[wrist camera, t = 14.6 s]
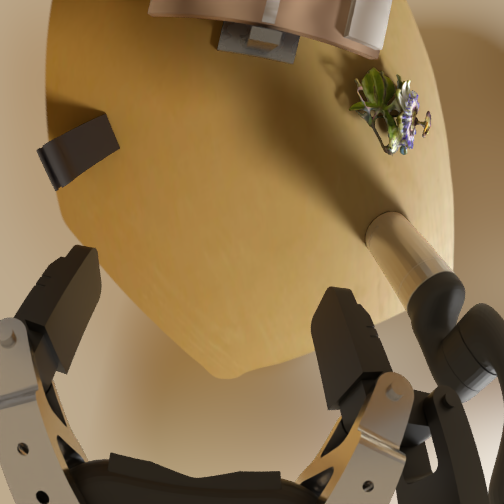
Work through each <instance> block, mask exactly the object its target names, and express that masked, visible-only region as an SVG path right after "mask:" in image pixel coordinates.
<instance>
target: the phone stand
mask: <svg viewBox="0 0 504 504" xmlns="http://www.w3.org/2000/svg"><path fill="white" fill-rule="evenodd" d="M118 149H120V147H119V144H118V142H117V140H116V137H115V135H114V132H113V130H112V128H111V125H110V123H109V120H108V118H107V115H106V114H104V115H102V116H99V117H97V118H95V119H93V120H91V121H89V122H87V123H84V124H82V125H80V126H78V127H76V128H74V129H72V130H71V131H69V132H67V133H65V134H63V135H61V136H59V137H57V138H55V139H53V140H51V141H49V142H48V143H46V144H45V145H43V147H42V148H39V149H38V150H37V153H38V155H39V157H40V160H41V162H42V164H43V166H44V168H45V171H46V173H47V175H48V177H49V179H50V181H51V183H52V185H53V186H54V189H55V191H57V190H59V189H58V188H60V187H61V186H62V188H63V187H64V186H66V185H67V184H69V183H70V182H71V181H73V180H74V179H75V178H76V177H77V176H79V175H80V174H82V173H83V172H84V171H86V170H87V169H89V168H90V167H92V166H93V165H95V164H96V163H98V162H99V161H101V160H102V159H104V158H105V157H107V156H108V155H110V154H112V153H113V152H115V151H116V150H118Z"/></svg>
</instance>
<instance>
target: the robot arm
mask: <svg viewBox="0 0 504 504" xmlns="http://www.w3.org/2000/svg"><path fill="white" fill-rule="evenodd" d="M365 241H366V245H367V248H368V249H369V251H370V252H371V254H372V255H373V257H374V258H375V260H376V262H377V263H378V265H379V266H380V268H381V270H382V271H383V273H384V274H385V276H386V278H387V279H388V281H389V283H390V284H391V286H392V288H393V289H394V291H395V293H396V294H397V296H398V298H399V299H400V301H401V303H402V305H403V306H404V308H405V310H406V312H407V313H408V315H409V317H410V319H411V324H412V329H413V332H414V334H415V336H416V338H417V340H418V342H419V345H420V347H421V349H422V352H423V354H424V356H425V359H426V361H427V364H428V366H429V369H430V371H431V373H432V376H433V378H434V380H435V382H436V383H437V385H438V387H437V388H436V389H435V390H434V391H433V392H431V393H426V392H421V391H417V390H413V388H412V386H411V384H410V382H409V381H408V380H407V379H406V378H405V377H404V376H402V375H400V374H398V373H395V372H393V371H392V369H391V366H390V363H389V361H388V358H387V355H386V353H385V350H384V348H383V346H382V343H381V341H380V338H378V334H377V331H376V329H374V324H373V322H372V319H371V317H370V315H369V314H368V313H367V311H366V310H365V309H364V308H363V307H362V306H361V304H357V302H356V300H355V298H354V295H353V293H352V291H351V290H350V289H346V288H338V287H329V288H327V290H326V292H325V294H324V296H323V298H322V300H321V302H320V304H319V306H318V308H317V310H316V312H315V314H314V316H313V318H312V322H311V334H312V338H313V343H314V347H315V352H316V356H317V360H318V365H319V370H320V374H321V378H322V383H323V388H324V393H325V398H326V402H327V407H328V410H339V409H340V411H341V416H340V417H339V418H338V420H337V421H336V423H335V425H334V427H333V429H332V430H331V432H330V434H329V436H328V437H327V439H326V441H325V443H324V444H323V446H322V448H321V449H320V451H319V452H318V454H317V456H316V457H315V459H314V460H313V461H312V462H311V463H310V465H309V466H307V468H306V469H305V470H304V471H303V472H302V473H301V474H300V476H299V477H298V478H297V480H296V481H295V483H294V482H292V481H288V480H285V479H281V476H280V471H270V472H243V471H242V472H241V471H239V472H234V473H228V474H223V475H216V476H210V477H203V478H193V477H189V476H186V475H183V474H180V473H178V472H175V471H173V470H170V469H168V468H165V467H163V466H160V465H158V464H155V463H153V462H150V461H145V460H140V459H135V458H131V457H126V456H122V455H118V454H115V453H110V458H109V459H102V460H93V461H88V459H87V457H86V455H85V453H84V451H83V449H82V447H81V445H80V443H79V442H78V440H77V439H76V437H75V435H74V434H73V432H72V430H71V427H70V425H69V423H68V420H67V418H66V415H65V412H64V409H63V407H62V404H61V401H60V398H59V396H58V392H57V389H56V386H55V383H54V380H53V377H54V374H55V372H56V371H58V372H61V373H64V374H67V373H68V370H69V367H70V365H71V362H72V360H73V357H74V355H75V352H76V350H77V347H78V345H79V343H80V340H81V338H82V336H83V333H84V331H85V329H86V327H87V324H88V322H89V320H90V318H91V316H92V313H93V311H94V309H95V307H96V305H97V303H98V301H99V298H100V294H101V277H100V269H99V260H98V252H97V250H96V248H92V247H86V246H81V245H75V246H74V247H73V248H72V249H71V250H70V252H69V253H68V255H67V256H66V257H60V258H58V259H57V260H55V261H54V262H53V263H51V264H50V265H49V266H48V268H47V269H46V270H45V272H44V273H43V274H42V277H40V279H39V280H38V281H37V283H36V286H34V287H33V288H32V290H31V291H30V293H29V294H28V296H27V297H26V299H25V300H24V302H23V303H22V305H21V307H20V308H19V310H18V312H17V313H16V315H15V316H14V318H4V319H2V320H0V464H1V467H2V470H3V473H4V476H5V478H6V481H7V484H8V486H9V488H10V491H11V494H12V496H13V499H14V501H15V503H16V504H389V503H390V501H391V498H392V496H393V494H394V491H395V489H396V493H397V500H398V504H504V426H503V432H502V438H501V442H500V446H499V450H498V455H497V458H496V462H495V465H494V469H493V473H492V476H491V481H490V485H489V492H487V487H486V483H485V478H484V474H483V470H482V466H481V462H480V458H479V455H478V451H477V448H476V444H475V441H474V438H473V434H472V431H471V428H470V425H469V422H468V419H467V416H466V413H465V411H464V408H463V405H462V403H464V402H467V401H468V400H470V399H471V398H472V397H474V396H475V395H476V394H478V393H479V392H480V391H481V390H482V389H483V388H485V387H486V386H487V385H488V384H489V383H490V382H491V381H493V380H494V379H495V378H496V377H498V379H499V383H500V386H501V390H502V395H503V400H504V320H503V319H502V318H501V316H500V315H499V314H498V313H497V312H496V311H495V310H494V309H493V308H492V307H490V306H489V305H486V304H483V303H479V304H476V305H475V306H474V307H472V308H471V309H470V310H469V311H468V312H467V313H466V314H465V315H464V317H463V318H462V319H461V320H460V321H459V322H458V323H457V319H458V316H459V313H460V311H461V308H462V306H463V303H464V299H465V288H464V286H463V284H462V282H461V281H460V280H459V278H458V277H457V276H456V275H455V273H454V272H453V271H452V270H451V268H450V267H449V266H448V265H447V263H446V262H445V261H444V260H443V259H442V258H441V257H440V255H439V254H438V253H437V252H436V251H435V249H434V248H433V247H432V246H431V245H430V244H429V243H428V241H427V240H426V239H425V238H424V237H423V236H422V235H421V234H420V233H419V232H418V231H417V229H416V228H415V227H414V226H413V225H412V224H411V223H410V222H409V221H408V220H407V219H406V218H405V217H404V216H403V215H402V214H400V213H397V212H387V213H384V214H382V215H380V216H378V217H377V218H376V219H375V220H374V221H373V222H372V223H371V224H370V226H369V228H368V230H367V232H366V237H365ZM456 323H457V324H456ZM431 436H432V440H433V443H434V447H435V451H436V455H437V459H438V467H437V470H436V471H435V472H434V473H433V472H432V470H431V466H430V461H429V457H428V453H427V449H426V445H425V440H427V439H428V438H430V437H431Z"/></svg>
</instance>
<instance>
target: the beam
mask: <svg viewBox="0 0 504 504" xmlns="http://www.w3.org/2000/svg"><path fill="white" fill-rule="evenodd" d="M391 4H392V0H151V1H150V5H149V9H148V14H149V15H151V16H152V17H187V18H202V19H213V20H222V21H230V22H237V23H243V24H249V25H255V26H260V27H265V28H270V29H275V30H279V31H284V32H288V33H292V34H296V35H300V36H303V37H307V38H310V39H314V40H317V41H321V42H324V43H327V44H330V45H333V46H336V47H339V48H342V49H345V50H347V51H350V52H353V53H355V54H358V55H361V56H363V57H366V58H368V59H378V56H379V52H380V50H382V47H383V43H384V38H385V33H386V29H387V24H388V19H389V14H390V9H391Z"/></svg>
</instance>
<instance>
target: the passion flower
mask: <svg viewBox="0 0 504 504" xmlns="http://www.w3.org/2000/svg"><path fill="white" fill-rule="evenodd" d="M396 76H397V79H398V81H397V84H398V86H397V90H396V87H395V86H394V84H393V82H392V81H391V79H390V78H389V77H387V76H384V72H383V71H378V70H377V69H376V68H374V67H373V68H372V69H371V70H369V71H368V72H367V74H366V75H365V76H364V78H363V80H362V86H361V84H360V83H359V81H358V79H357V78H356V79H355V82H356V83H357V85H358V90H363V92H364V94H365V96H366V98H367V100H368V102H365V101H363V100H362V98H361V95H360V94H359V92H358V90H357V94H358V96H359V98H360V99H361V101H362V102H358V103H355V104H353V105H352V106H351V107H350V108H349V110H350V111H351V110H355V111H356V112H357V113H358V114H359V115H360V116H361V117H362V118H364V119H365V120H366V121H367V123H368V124H369V126H371V127H372V128H373V130H374V132H375V134H376V135H377V137H378V139H379V141H380V143H381V146H382V148H383V150H384V152H385V153H388V154H389V155H392V154H394V153H396V152H397V151H398V148H399V146H401V147H400V153H401V154H403V155H405V154H407V148H409V149H410V148H412V149H413V141H414V135H415V134H416V129H415V126H416V125H422V126H423V127H424V131H423V134H422V137H423V138H424V137H426V136H427V134H428V131H429V128H430V127H431V115H430V112H429V111H428V112H427V114H426V118H425V122H420V121H418V119H417V117H416V114H417V113H418V108H419V103H418V102H417V98H418V95H417V93H415V91H414V92H413V90H412V91H410V87H409V84H410V81H411V80H408V81H403V83H402V81H401V77H400V76H399V75H396ZM394 94H395V99H394V100H393V102H392V103H391V104H390V105H388V106H387V104H388V103H389V100H390V99H391V98H392V96H393V95H394ZM357 110H364V111H366V112H365V113H364V114H361V113H360V112H358V111H357ZM370 110H375V112H376V113H375V115H374V116H373V117H371V114H370ZM392 110H397V111H398V112H399V114H398V115H396V116H394V115H393V116H391V115H390V112H391V111H392ZM378 113H382V114H383V116H378ZM382 117H384V119H385V121H386V124H387V131H388V137H389V144H388V145H387V146H384V145H383V143H382V140H381V138H380V136H379V134H378V132H377V130H376V129H375V120H376V119H377V118H382ZM392 117H397V119H396V121H397V125H396V123H395V121H394V120H393V118H392ZM392 156H393V155H392Z"/></svg>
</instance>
